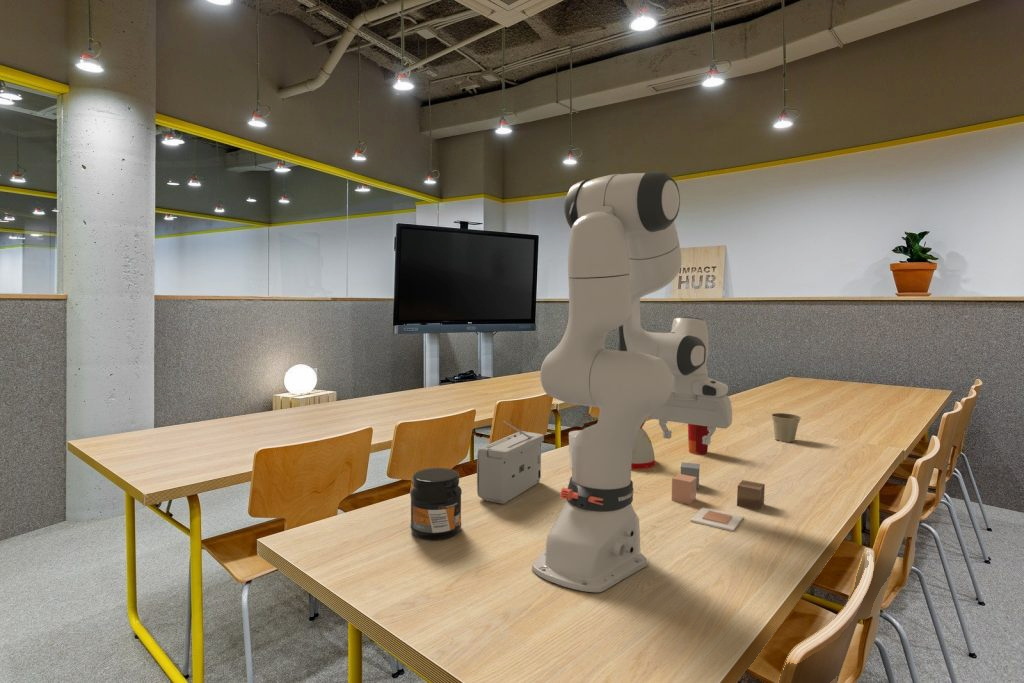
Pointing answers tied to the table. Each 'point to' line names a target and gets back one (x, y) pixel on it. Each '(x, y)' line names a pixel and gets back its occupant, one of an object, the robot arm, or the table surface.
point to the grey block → (691, 471)
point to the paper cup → (697, 439)
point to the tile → (717, 519)
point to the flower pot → (785, 426)
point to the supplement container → (435, 503)
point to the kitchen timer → (642, 451)
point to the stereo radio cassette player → (509, 466)
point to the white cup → (571, 439)
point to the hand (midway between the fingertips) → (686, 441)
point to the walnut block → (750, 495)
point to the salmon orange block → (684, 488)
